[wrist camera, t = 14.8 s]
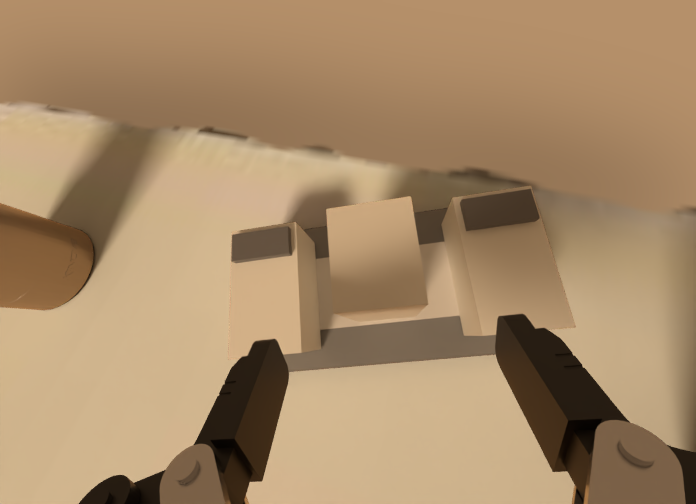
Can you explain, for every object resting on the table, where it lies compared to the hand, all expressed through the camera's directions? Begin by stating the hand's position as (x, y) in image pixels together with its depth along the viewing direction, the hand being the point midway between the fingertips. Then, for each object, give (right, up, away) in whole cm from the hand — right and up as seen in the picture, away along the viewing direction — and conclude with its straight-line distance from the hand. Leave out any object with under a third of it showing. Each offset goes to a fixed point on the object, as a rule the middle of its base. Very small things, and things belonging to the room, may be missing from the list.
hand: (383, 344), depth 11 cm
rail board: (+2, 0, +15) cm, 15 cm away
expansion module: (+2, +1, +13) cm, 13 cm away
